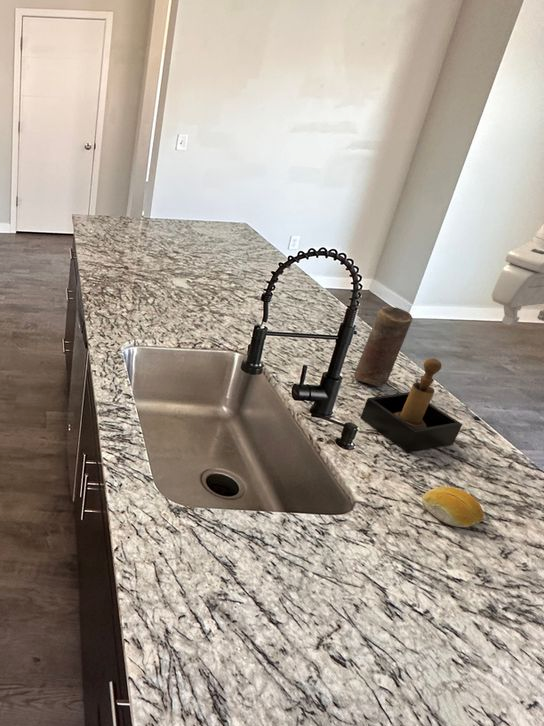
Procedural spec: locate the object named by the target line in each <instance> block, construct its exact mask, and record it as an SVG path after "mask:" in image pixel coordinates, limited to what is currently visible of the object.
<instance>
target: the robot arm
mask: <svg viewBox="0 0 544 726" xmlns="http://www.w3.org/2000/svg"><path fill="white" fill-rule="evenodd" d="M504 260H505V262H507V264H506V265H504V267H503V268H502V269H501V271H500V273H499V274H498V278H497V279H496V281H495V284H494V287H493V290H492V293H491V299H492V301H493V302H494V303H497V304H499V305H501V306H503V313H504V315H503V317H502V320H501V323H503V324H504V325H506V326H510V327H511V326H516V325H518V322H519V321H520V316H518V313H519V312H520V311H521V309H522V307H527V306H537V305H538V306H539V305H544V222H543V223H542V225H541V226H540V228H539V229H538V230H537V231H536V233H535V234H534V237H533V239H532V241H528V242H527V243H525V244H523V245H521V246H519V247H516V248H515V249H512V250H510V251H508V252H507V254H506V256H505V259H504ZM537 319H538V320H539V321H542V322H544V309H543V310H540V311H539V313H538V315H537Z"/></svg>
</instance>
